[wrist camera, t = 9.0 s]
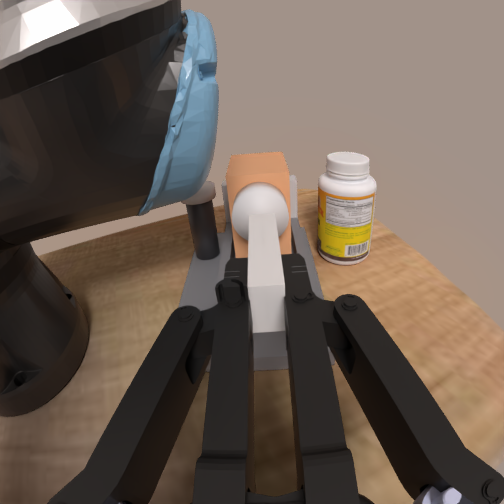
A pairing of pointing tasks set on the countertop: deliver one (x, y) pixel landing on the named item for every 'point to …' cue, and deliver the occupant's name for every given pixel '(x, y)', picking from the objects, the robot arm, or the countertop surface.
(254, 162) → the orange rectangular block
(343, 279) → the countertop surface
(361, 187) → the supplement bottle
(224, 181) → the mount
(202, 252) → the dial post
